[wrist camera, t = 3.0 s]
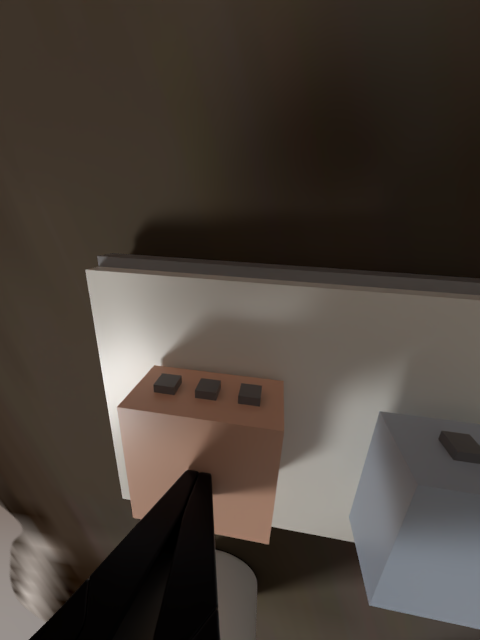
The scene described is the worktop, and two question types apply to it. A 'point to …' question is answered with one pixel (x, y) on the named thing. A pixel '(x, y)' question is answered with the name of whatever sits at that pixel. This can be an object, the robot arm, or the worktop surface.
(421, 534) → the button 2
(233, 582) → the mug
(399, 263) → the worktop surface
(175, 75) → the worktop surface
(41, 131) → the worktop surface
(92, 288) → the console
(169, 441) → the orange block with buttons
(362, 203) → the worktop surface
